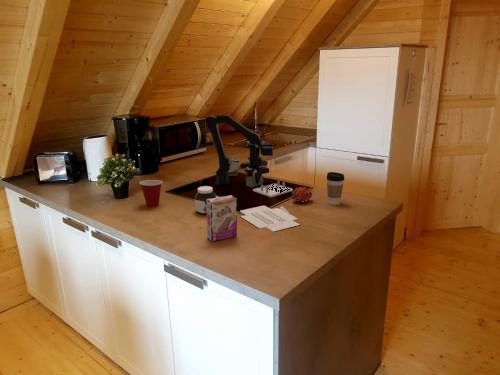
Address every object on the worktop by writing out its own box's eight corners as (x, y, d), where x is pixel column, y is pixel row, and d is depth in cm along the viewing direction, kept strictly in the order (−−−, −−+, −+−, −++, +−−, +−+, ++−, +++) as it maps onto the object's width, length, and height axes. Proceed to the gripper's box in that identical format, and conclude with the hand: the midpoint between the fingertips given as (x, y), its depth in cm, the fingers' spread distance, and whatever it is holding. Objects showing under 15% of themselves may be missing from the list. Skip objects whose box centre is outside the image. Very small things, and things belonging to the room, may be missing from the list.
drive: (251, 187, 221) (251, 178, 219) (246, 185, 224) (246, 177, 222) (262, 184, 227) (263, 175, 225) (257, 182, 230) (257, 174, 228)
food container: (240, 173, 249) (240, 157, 246) (239, 175, 244) (239, 159, 240) (221, 172, 251) (221, 157, 248) (219, 175, 245) (219, 159, 242)
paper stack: (267, 235, 161) (267, 226, 160) (233, 216, 184) (233, 208, 183) (306, 224, 171) (306, 216, 170) (270, 208, 194) (269, 200, 193)
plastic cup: (168, 202, 198) (166, 179, 194) (157, 209, 188) (155, 185, 185) (149, 200, 201) (147, 177, 198) (137, 207, 191) (134, 183, 188)
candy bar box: (212, 242, 153) (210, 202, 148) (207, 238, 158) (205, 199, 153) (237, 236, 158) (237, 198, 154) (232, 232, 163) (231, 194, 158)
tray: (270, 197, 204) (271, 189, 203) (253, 190, 214) (253, 183, 213) (292, 190, 214) (292, 183, 213) (274, 185, 224) (274, 178, 223)
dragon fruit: (289, 206, 196) (309, 205, 201) (298, 200, 189) (318, 200, 194) (286, 190, 198) (305, 190, 204) (295, 184, 191) (315, 184, 197)
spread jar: (193, 214, 182) (192, 190, 178) (199, 206, 193) (198, 183, 189) (219, 215, 180) (218, 191, 177) (224, 207, 191) (223, 184, 187)
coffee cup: (326, 199, 200) (327, 170, 196) (343, 201, 198) (345, 172, 193) (324, 205, 193) (325, 175, 188) (341, 206, 190) (343, 176, 186)
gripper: (276, 156, 218) (276, 183, 223) (254, 150, 232) (254, 176, 237) (261, 159, 211) (261, 187, 216) (239, 153, 225) (240, 180, 230)
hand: (254, 182), depth 225 cm, fingers closed on drive, 5 cm apart
